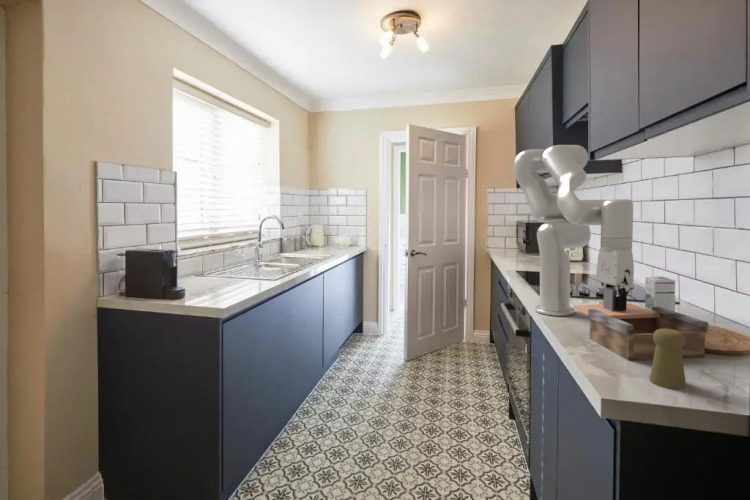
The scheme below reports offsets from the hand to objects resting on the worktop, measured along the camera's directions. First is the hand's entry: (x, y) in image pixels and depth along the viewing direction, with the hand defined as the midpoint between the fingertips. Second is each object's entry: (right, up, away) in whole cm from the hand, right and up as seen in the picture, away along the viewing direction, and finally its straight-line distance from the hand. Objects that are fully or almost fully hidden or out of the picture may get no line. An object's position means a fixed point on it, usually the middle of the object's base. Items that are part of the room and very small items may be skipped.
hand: (614, 307), depth 110 cm
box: (0, -9, -11) cm, 14 cm away
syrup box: (+17, -7, +6) cm, 19 cm away
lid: (0, -2, 0) cm, 2 cm away
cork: (-8, -11, -31) cm, 34 cm away
